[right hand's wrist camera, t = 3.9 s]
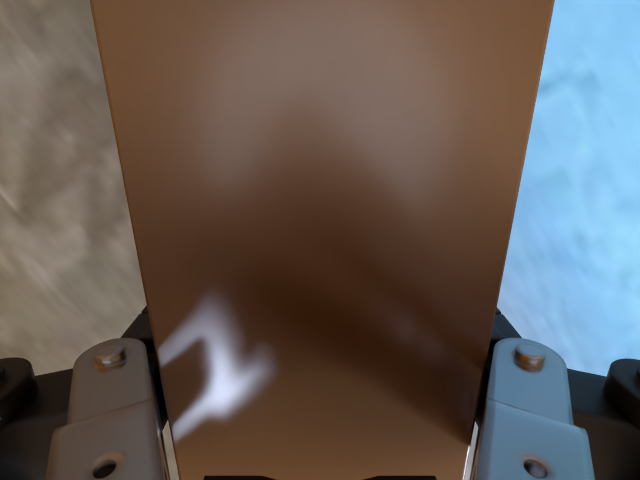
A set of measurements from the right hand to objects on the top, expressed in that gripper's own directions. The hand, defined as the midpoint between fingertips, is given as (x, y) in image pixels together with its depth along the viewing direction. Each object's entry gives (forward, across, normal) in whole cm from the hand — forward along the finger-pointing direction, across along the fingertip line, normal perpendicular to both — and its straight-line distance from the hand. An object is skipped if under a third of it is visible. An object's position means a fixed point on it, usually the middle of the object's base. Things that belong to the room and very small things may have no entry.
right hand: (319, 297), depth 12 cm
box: (+9, 0, -8) cm, 12 cm away
